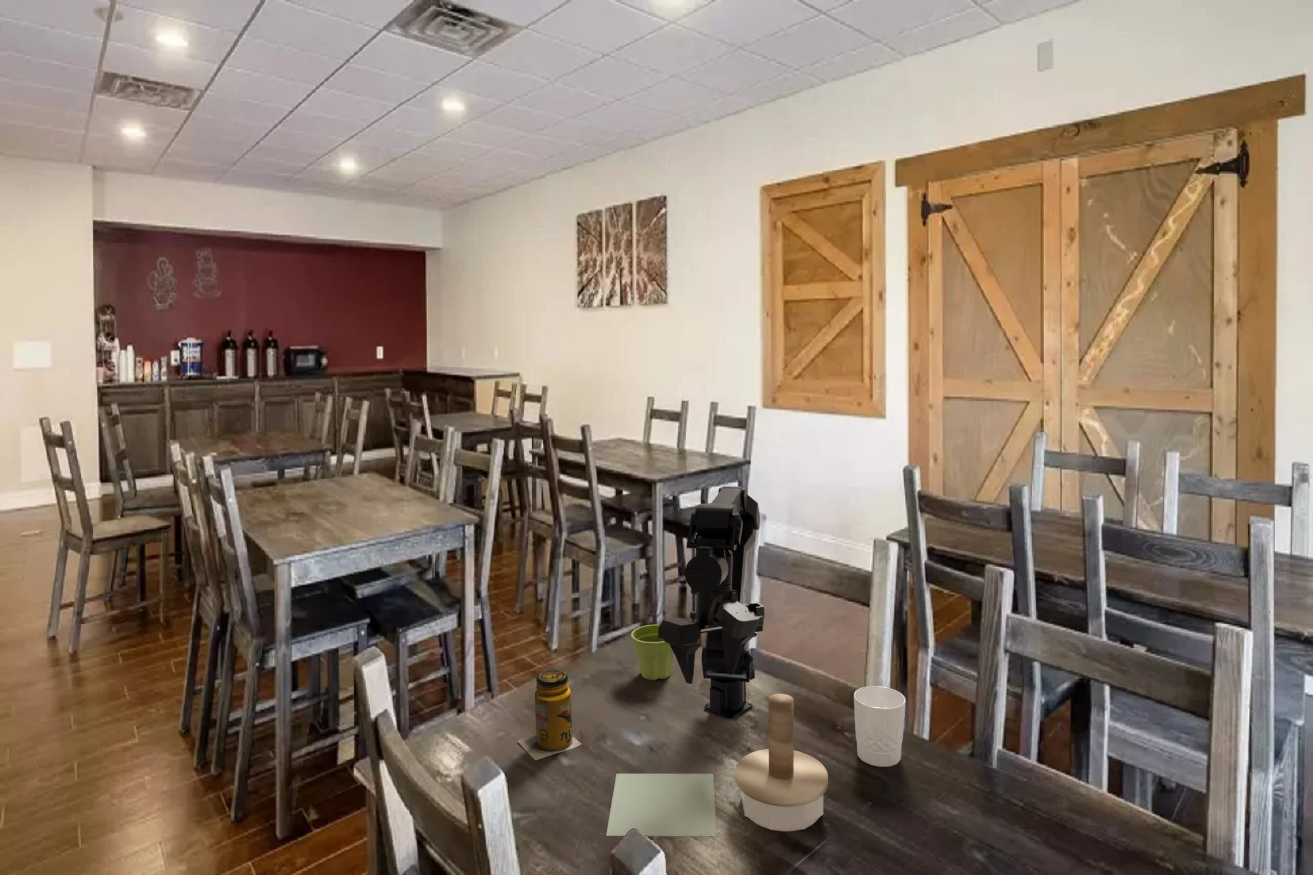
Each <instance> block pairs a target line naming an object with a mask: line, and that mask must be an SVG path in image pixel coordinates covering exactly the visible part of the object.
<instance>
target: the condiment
mask: <svg viewBox="0 0 1313 875" xmlns="http://www.w3.org/2000/svg"><path fill="white" fill-rule="evenodd" d="M535 681H536V687H535V688H536V690H535V692H534V708H535V710H534V712H535V713H534V714H535V731H536V732H535V734H533V735H532V736H529V737H524V738H521V739H518V740H517V742H518V743H519V745H521V747H522V748H523V749H524V750H525V751H526V753H527V754H529V756H531V757H532V759H534V760H535V761H538V760H542V759H544V758H547V757H550V756H553V755H556V754H560V753H563V752H566V751H568V750H569V751H570V750H571V749H572V750H573V749H574V748H577V747H579V746H581V745H582V743H581V742H580V741H579V740H577V739H576V738H575V737H574V736H573V717H572V716H573V715H572V714H573V713H572V692H571V691H572V690H571V689H570V687H569V675H568V674H567V673H566V671H565V670H560V669H549V670H544V671H542V672H540V673H539V674H538V675H537V676H536V679H535Z"/></svg>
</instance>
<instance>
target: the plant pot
mask: <svg viewBox="0 0 1313 875" xmlns="http://www.w3.org/2000/svg"><path fill="white" fill-rule="evenodd" d="M658 627H659V624H649V625H643V626H639V627H637V628H635V629H634V630H632V631H631V633H630V637H631V639H632V640H633V643H634V645H635V649H636V654H637V660H638V665H639V671H640V674H641V677H642V678H644V679H647V680H650V681H656V680H658V679H659V680H660V679H661V680H665V679H667V678H668V677H670V676H671V674H672V667H673V659H674V653H673V651H672V649H671V647H670V645H669V643H666V642H664V639H662V638H659V637H658Z"/></svg>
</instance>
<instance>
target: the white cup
mask: <svg viewBox="0 0 1313 875" xmlns="http://www.w3.org/2000/svg"><path fill="white" fill-rule="evenodd" d="M853 702H854V703H853V704H854V724H855V725H854V730H855V739H856V749H857V757H858V758H859V759H860V760H861V761H862V762H863V763H865V764H868V765H871V766H875V767H879V768H884V767H886V768H887V767H892V766H895V765H897V764H898V763H900V761H901V760H902V744H903V738H904V730H905V713H906V703H907V702H906V697H905V696H904V695H903V693H901V692H900V691H898V690H895V689H894V688H891V687H885V686H881V685H880V686H879V685H867V686H863V687H860V688H858V689H856V690H855V691H854V693H853Z"/></svg>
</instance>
